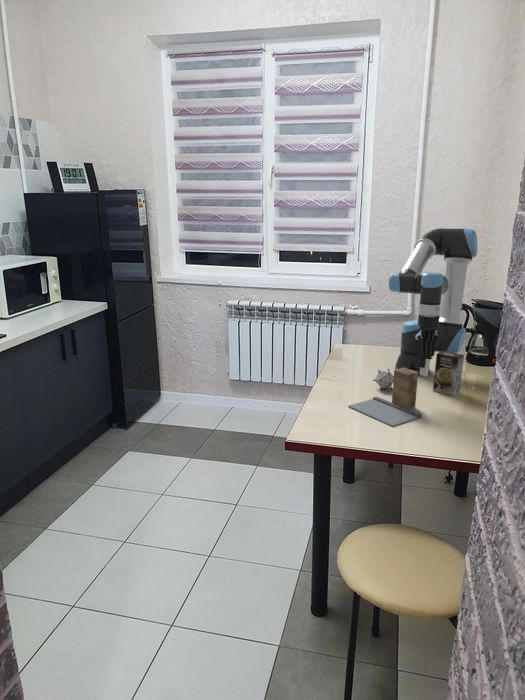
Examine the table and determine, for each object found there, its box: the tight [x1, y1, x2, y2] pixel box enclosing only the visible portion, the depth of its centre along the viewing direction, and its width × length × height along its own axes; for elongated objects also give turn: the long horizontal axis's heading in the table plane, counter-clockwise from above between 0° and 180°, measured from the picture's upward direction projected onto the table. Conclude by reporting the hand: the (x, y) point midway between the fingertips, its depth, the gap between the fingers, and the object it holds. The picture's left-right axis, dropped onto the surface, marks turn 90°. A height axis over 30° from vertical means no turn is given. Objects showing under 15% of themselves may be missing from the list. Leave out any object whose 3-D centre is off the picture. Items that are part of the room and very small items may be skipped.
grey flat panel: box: [348, 396, 423, 428], centre depth 189 cm, size 15×22×1 cm
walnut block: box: [391, 368, 419, 410], centre depth 193 cm, size 5×7×14 cm
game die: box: [372, 368, 394, 390], centre depth 213 cm, size 9×8×10 cm
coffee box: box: [432, 351, 465, 397], centre depth 208 cm, size 9×6×16 cm
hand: (423, 375), depth 198 cm, fingers closed
